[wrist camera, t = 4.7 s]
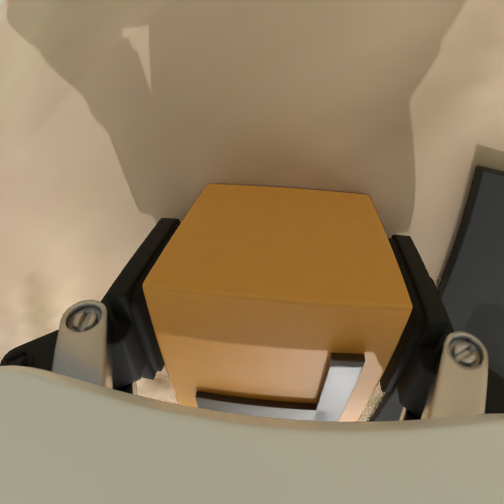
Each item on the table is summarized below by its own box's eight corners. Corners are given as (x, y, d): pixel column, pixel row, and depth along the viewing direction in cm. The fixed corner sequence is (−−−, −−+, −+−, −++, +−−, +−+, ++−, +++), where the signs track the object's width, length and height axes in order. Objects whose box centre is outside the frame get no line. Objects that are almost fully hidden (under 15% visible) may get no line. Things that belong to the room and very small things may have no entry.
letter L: (216, 303, 13) (179, 420, 8) (206, 182, 10) (135, 291, 6) (344, 314, 12) (352, 437, 8) (369, 194, 9) (417, 315, 5)
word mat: (328, 478, 24) (328, 483, 23) (476, 164, 8) (483, 170, 8) (442, 469, 22) (443, 473, 22) (629, 215, 7) (634, 220, 6)
